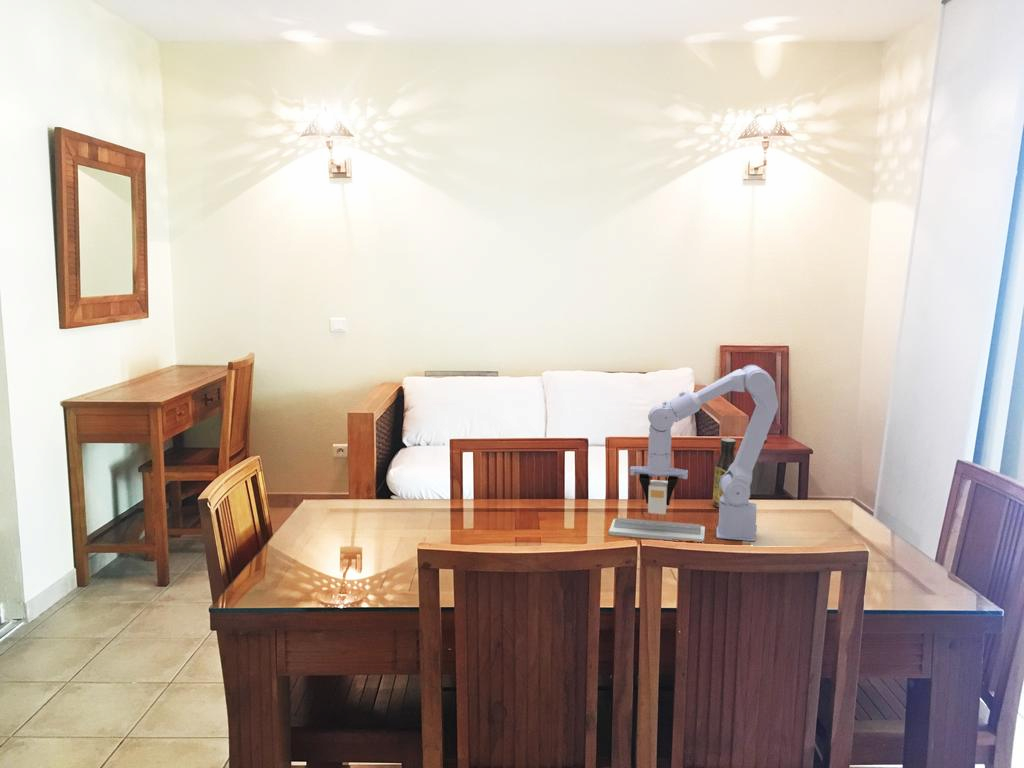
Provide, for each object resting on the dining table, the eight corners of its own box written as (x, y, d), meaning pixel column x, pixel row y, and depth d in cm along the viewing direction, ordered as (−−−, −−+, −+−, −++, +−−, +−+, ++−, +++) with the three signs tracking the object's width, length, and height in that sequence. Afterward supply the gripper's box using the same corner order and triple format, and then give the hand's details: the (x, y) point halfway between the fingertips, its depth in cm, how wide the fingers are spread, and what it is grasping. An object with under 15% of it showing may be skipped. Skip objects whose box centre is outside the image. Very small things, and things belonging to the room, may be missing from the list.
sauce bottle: (708, 504, 231) (710, 437, 227) (725, 501, 233) (728, 435, 230) (722, 511, 225) (725, 442, 222) (740, 508, 227) (743, 440, 224)
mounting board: (704, 530, 209) (704, 526, 209) (703, 543, 200) (704, 539, 199) (613, 522, 215) (613, 518, 215) (608, 534, 206) (608, 531, 205)
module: (667, 506, 209) (668, 480, 208) (665, 514, 203) (666, 487, 202) (650, 505, 211) (650, 479, 210) (647, 513, 204) (648, 486, 203)
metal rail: (700, 530, 206) (700, 524, 206) (700, 534, 203) (700, 529, 203) (615, 523, 212) (616, 517, 211) (614, 527, 208) (614, 521, 208)
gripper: (689, 450, 206) (687, 501, 208) (632, 447, 210) (631, 496, 212) (687, 457, 199) (686, 509, 201) (629, 453, 203) (628, 504, 205)
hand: (657, 503), depth 206 cm, fingers closed on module, 4 cm apart
